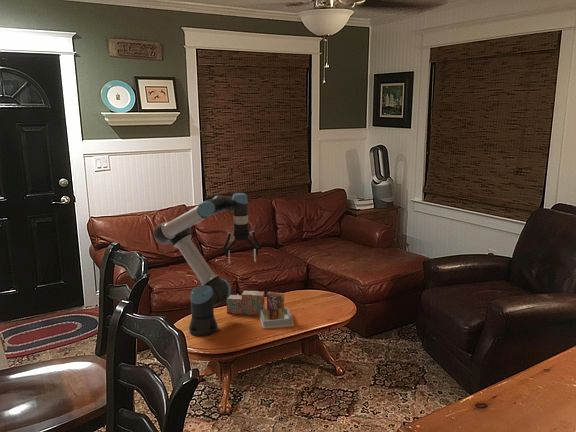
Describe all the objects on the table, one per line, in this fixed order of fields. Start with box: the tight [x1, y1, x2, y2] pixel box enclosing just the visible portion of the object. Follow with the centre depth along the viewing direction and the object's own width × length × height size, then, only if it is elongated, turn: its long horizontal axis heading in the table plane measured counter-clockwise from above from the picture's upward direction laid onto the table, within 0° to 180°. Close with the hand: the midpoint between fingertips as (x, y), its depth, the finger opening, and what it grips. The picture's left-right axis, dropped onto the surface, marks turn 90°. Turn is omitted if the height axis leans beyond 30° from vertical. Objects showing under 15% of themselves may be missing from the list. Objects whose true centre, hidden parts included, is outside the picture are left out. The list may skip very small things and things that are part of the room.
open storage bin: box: [258, 307, 295, 329], centre depth 278 cm, size 17×17×4 cm
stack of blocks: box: [225, 290, 266, 316], centre depth 290 cm, size 21×6×12 cm, turn 82°
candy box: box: [266, 291, 285, 320], centre depth 277 cm, size 9×4×15 cm, turn 70°
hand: (242, 262), depth 264 cm, fingers open, 13 cm apart
